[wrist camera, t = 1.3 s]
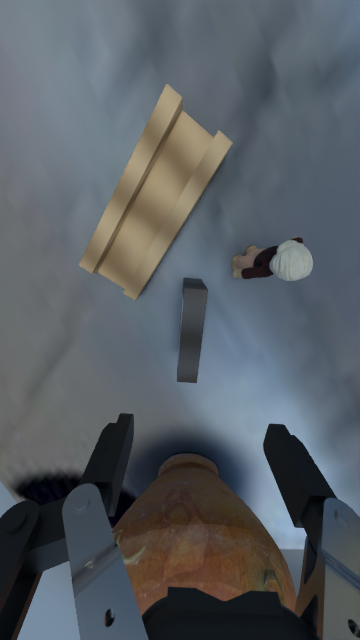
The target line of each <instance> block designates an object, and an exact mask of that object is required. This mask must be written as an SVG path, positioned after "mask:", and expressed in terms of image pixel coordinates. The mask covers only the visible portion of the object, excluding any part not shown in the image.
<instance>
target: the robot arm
mask: <svg viewBox="0 0 360 640" xmlns="http://www.w3.org/2000/svg"><path fill="white" fill-rule="evenodd" d="M133 436H134V415H133V414H125V413H121V414H120V415H119V418H118V420H117V423H109V424H108V425H107V426H106V427H105V428H104V429H103V430H102V432H101V435H100V437H99V439H98V442H97V444H96V446H95V449H94V451H93V453H92V455H91V458H90V460H89V462H88V465H87V467H86V469H85V472H84V474H83V476H82V478H81V481H80V482H79V484H78V486H77V487H76V488H75V489H74V490H73V491H72V492H71V493H70V494H69V495H67V496H66V497H64V498H62V499H60V500H58V501H55V502H51V503H48V504H45V505H42V506H38V504H37V503H36V502H35V501H32V500H26V501H22V502H20V503H18V504H16V505H14V506H13V507H11V508H10V509H9V510H7V511H6V512H5V513H4V514H3V515H2V517H1V518H0V640H17V638H18V635H19V632H20V630H21V627H22V625H23V622H24V619H25V617H26V614H27V612H28V609H29V607H30V604H31V601H32V599H33V596H34V594H35V591H36V589H37V586H38V583H39V581H40V578H41V576H42V573H43V571H45V570H47V569H49V568H52V567H55V566H57V565H59V564H62V563H64V562H67V561H69V562H70V568H71V576H72V585H73V592H74V599H75V606H76V613H77V619H78V626H79V633H80V639H81V640H360V517H359V516H358V515H357V514H356V513H355V512H354V510H353V509H352V508H351V507H349V506H348V505H347V504H345V503H344V502H342V501H341V500H338V499H337V497H336V496H335V494H334V492H333V491H332V489H331V488H330V486H329V485H328V483H327V481H326V480H325V478H324V477H323V475H322V473H321V472H320V470H319V469H318V467H317V465H316V464H315V463H314V461H313V459H312V457H311V456H310V455H309V453H308V451H307V449H306V448H305V446H304V445H303V443H302V442H301V441H300V440H299V439H298V438H297V437H296V436H294V435H290V433H289V431H288V430H287V428H286V426H285V425H283V424H269V426H268V429H267V432H266V436H265V439H264V443H263V448H264V453H265V456H266V458H267V461H268V463H269V466H270V468H271V470H272V473H273V475H274V478H275V480H276V483H277V485H278V488H279V490H280V493H281V495H282V497H283V500H284V502H285V505H286V507H287V510H288V512H289V515H290V517H291V520H292V522H293V524H294V527H296V528H304V529H305V531H306V534H307V536H306V540H305V548H304V557H303V566H302V574H301V583H300V590H299V594H298V597H297V600H296V604H295V609H294V612H293V611H292V610H290V609H289V608H287V607H286V606H284V605H283V604H281V603H280V599H279V596H278V592H271V591H249V592H246V593H244V594H242V595H239V596H237V597H235V598H232V599H230V600H228V601H222V600H220V599H218V598H216V597H213V596H211V595H209V594H207V593H205V592H203V591H201V590H199V589H197V588H188V587H168V592H167V596H166V597H164V598H161V599H160V600H158V601H156V602H155V603H154V604H152V605H151V606H150V607H149V608H148V609H147V610H146V611H145V612H144V614H143V615H142V616H141V614H140V611H139V608H138V605H137V602H136V599H135V595H134V592H133V589H132V586H131V583H130V580H129V577H128V573H127V570H126V567H125V564H124V561H123V558H122V555H121V552H120V549H119V547H118V545H117V543H116V542H115V540H114V537H113V534H112V531H111V527H110V524H109V521H108V516H114V515H115V511H116V507H117V503H118V499H119V495H120V491H121V487H122V483H123V479H124V475H125V471H126V467H127V463H128V459H129V455H130V451H131V447H132V443H133Z"/></svg>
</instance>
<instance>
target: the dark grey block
mask: <svg viewBox="0 0 360 640" xmlns="http://www.w3.org/2000/svg"><path fill="white" fill-rule="evenodd" d="M207 293H208V289H207V288H206V286H205V285H204V283H203V282H202V280H201V279H190V278H184V280H183V291H182V304H181V317H180V330H179V343H178V367H177V382H189V383H197V376H198V367H199V359H200V351H201V343H202V334H203V326H204V318H205V310H206V301H207Z"/></svg>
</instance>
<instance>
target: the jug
mask: <svg viewBox="0 0 360 640" xmlns="http://www.w3.org/2000/svg"><path fill="white" fill-rule="evenodd" d="M112 534H113V537H114V540H115V542H116V543H117V545H118V547H119V549H120V552H121V555H122V558H123V561H124V564H125V567H126V570H127V573H128V577H129V580H130V583H131V586H132V589H133V592H134V595H135V599H136V602H137V605H138V608H139V611H140V614H141V616H142V615H143V614H144V612H145V611H146V610H147V609H148V608H149V607H150V606H151V605H152V604H154V603H155V602H156V601H158V600H160V599H161V598H164V597H166V596H167V592H168V587H188V588H197V589H199V590H201V591H203V592H205V593H207V594H209V595H211V596H213V597H216V598H218V599H220V600H222V601H228V600H230V599H232V598H235V597H237V596H239V595H242V594H244V593H246V592H249V591H271V592H278V596H279V599H280V603H281V604H283V605H284V606H286V607H287V608H289V609H290V610H292V611H293V612H294V609H295V604H296V600H297V598H296V592H295V588H294V584H293V581H292V578H291V574H290V571H289V569H288V565H287V563H286V561H285V559H284V557H283V555H282V553H281V551H280V549H279V548H278V546H277V545H276V543H275V541H274V540H273V538H272V537H271V536H270V534H269V533H268V531H267V530H266V529H265V527H264V526H263V524H262V523H261V522H260V520H259V519H258V518H257V516H256V515H255V514H254V513H253V512H252V510H251V509H250V508H249V507H248V506H247V505H246V504H245V503H244V501H243V500H242V499H241V498H240V497H239V496H238V495H237V494H236V493H235V492H234V491H233V490H232V489H231V488H230V487H229V486H228V485H227V484H226V483H225V482H224V481H223V480H221V479H220V478H219V472H218V469H217V467H216V465H215V463H214V462H212V461H211V460H209V459H207V458H205V457H203V456H201V455H198V454H192V453H182V454H177V455H173V456H171V457H170V458H169V459H167V460H165V461H164V462H163V464H162V465H161V467H160V468H159V471H158V478H156V479H155V480H154V481H153V482H152V483H151V484H150V485H149V486H148V487H147V488H146V490H145V491H144V492H143V493H142V494H141V495H140V496H139V497H138V498H137V499H136V500H135V502H134V503H133V504H132V506H131V507H130V508H129V509H128V510H127V511H126V512H125V514H124V515H123V516H122V518H121V519H120V520H119V522H118V523H117V524H116V526H115V527H114V529H113V530H112Z"/></svg>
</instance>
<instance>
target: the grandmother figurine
mask: <svg viewBox="0 0 360 640" xmlns="http://www.w3.org/2000/svg"><path fill="white" fill-rule="evenodd" d="M303 245H304V244H303V239H302V238H299V237H297V236H294V237H292V238H291V239H290V240H288V241H286V242H284V243H282V244H281V245H279V246H273V247H270V248H267V249H258V248H257V247H256V246H255V245H251V246H249V247H248V248H247V249H246V255H245V256H242V255H236V256H234V257H233V259H232V268H233V273H232V276H233V277H234V278H244V279H250V278H256V277H258V278H260V277H268V276H271V275H273V274H274V275H275V276H277V277H278V278H279V279H283V280H284V281H296V280H299V279H301V278H304V277H307V276H308V275H309V274H310V272H311V271H312V267H313V260H312V256H311V253H310V251H309V250H308V249H307V248H306V247H305V246H303Z"/></svg>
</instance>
